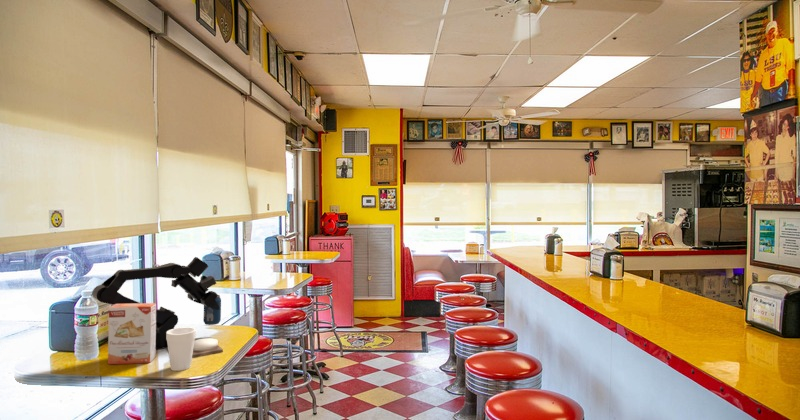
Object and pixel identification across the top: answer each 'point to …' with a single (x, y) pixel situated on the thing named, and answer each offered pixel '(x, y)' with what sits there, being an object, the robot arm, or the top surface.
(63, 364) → the top surface
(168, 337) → the foam cup
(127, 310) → the cracker box
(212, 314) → the soda can
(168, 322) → the robot arm
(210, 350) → the plinth board
